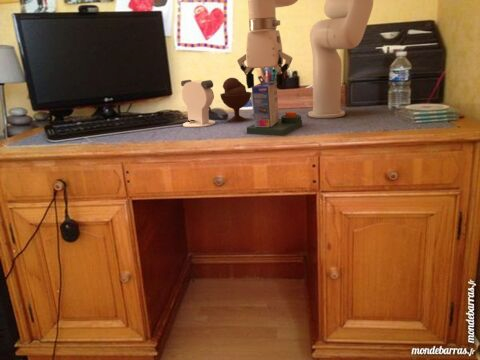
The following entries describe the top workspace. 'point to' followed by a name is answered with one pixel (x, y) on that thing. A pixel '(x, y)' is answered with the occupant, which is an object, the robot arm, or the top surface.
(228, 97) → the ice cream bowl
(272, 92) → the ink cartridge box
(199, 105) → the beige round-topped stand
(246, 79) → the robot arm
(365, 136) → the top surface
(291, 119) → the scale
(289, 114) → the tare button
